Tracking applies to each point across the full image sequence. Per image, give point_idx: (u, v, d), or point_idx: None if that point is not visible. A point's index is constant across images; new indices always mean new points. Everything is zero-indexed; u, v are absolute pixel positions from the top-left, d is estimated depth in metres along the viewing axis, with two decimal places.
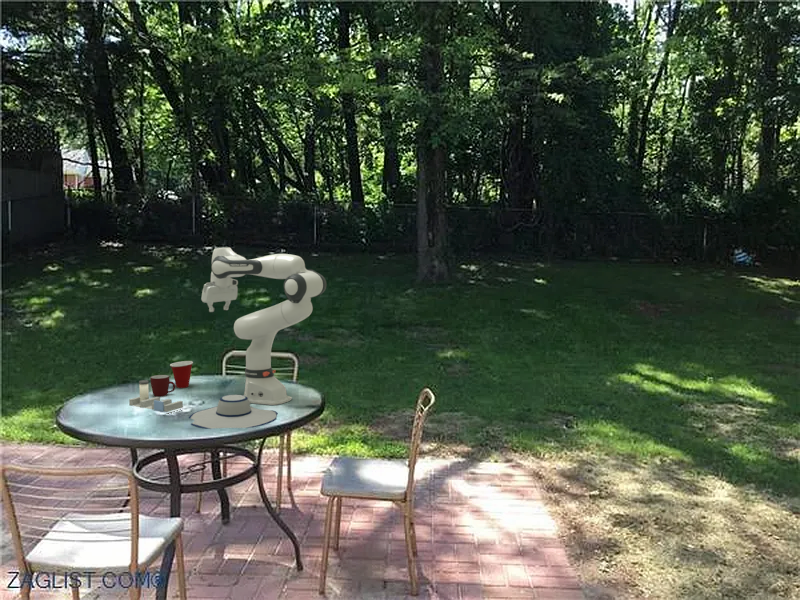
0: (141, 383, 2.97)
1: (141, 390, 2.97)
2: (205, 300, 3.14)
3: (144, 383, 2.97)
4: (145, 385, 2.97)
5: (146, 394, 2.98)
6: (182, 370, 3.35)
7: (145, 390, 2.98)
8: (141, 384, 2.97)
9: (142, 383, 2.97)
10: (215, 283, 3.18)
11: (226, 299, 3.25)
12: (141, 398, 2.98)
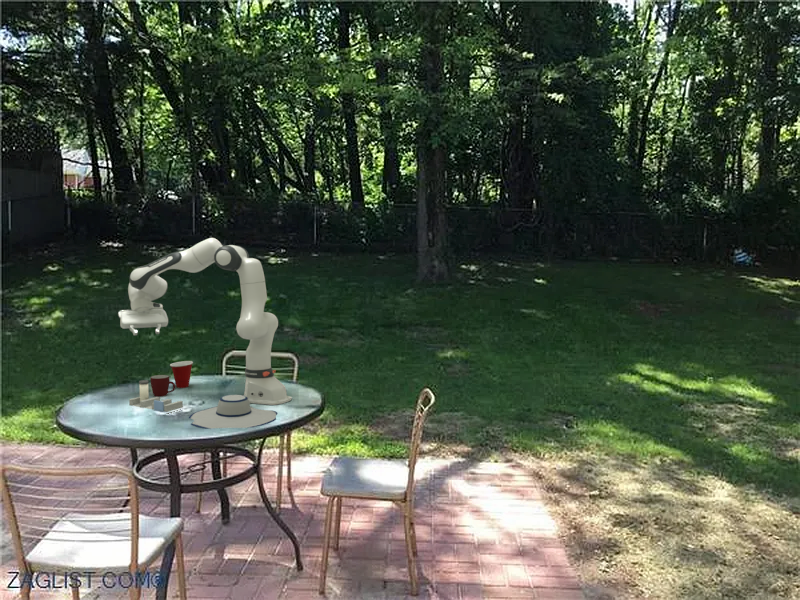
0: (141, 383, 2.97)
1: (141, 390, 2.97)
2: (121, 323, 3.05)
3: (144, 383, 2.97)
4: (145, 385, 2.97)
5: (146, 394, 2.98)
6: (182, 370, 3.35)
7: (145, 390, 2.98)
8: (141, 384, 2.97)
9: (142, 383, 2.97)
10: (132, 309, 3.12)
11: (151, 321, 3.11)
12: (141, 398, 2.98)
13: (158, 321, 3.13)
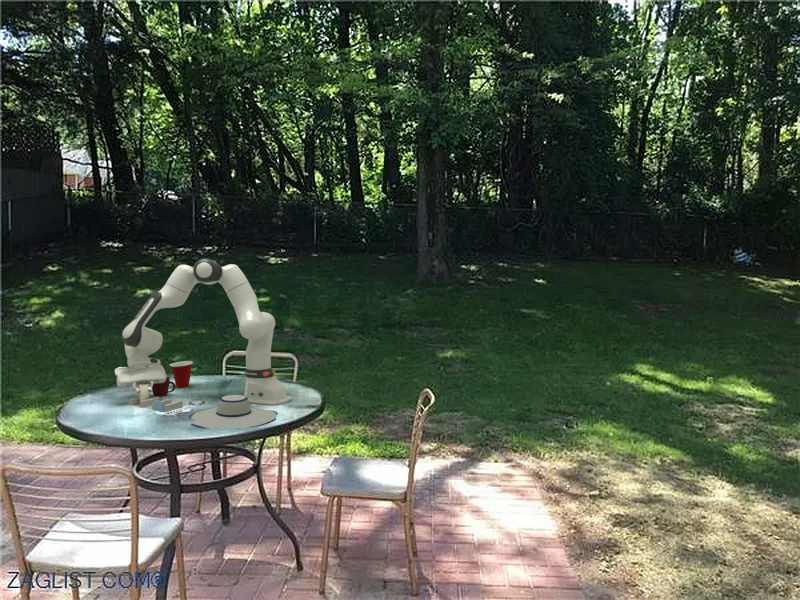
0: (141, 383, 2.97)
1: (141, 390, 2.97)
2: (117, 382, 2.96)
3: (144, 383, 2.97)
4: (145, 385, 2.97)
5: (146, 394, 2.98)
6: (182, 370, 3.35)
7: (145, 390, 2.98)
8: (141, 384, 2.97)
9: (142, 383, 2.97)
10: (129, 366, 3.03)
11: (149, 378, 3.02)
12: (141, 398, 2.98)
13: (156, 378, 3.03)
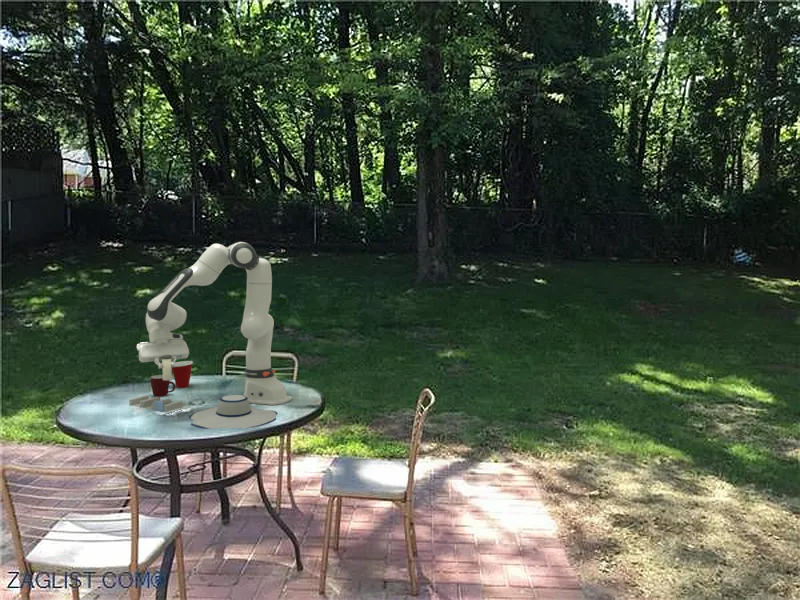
0: (164, 358, 2.89)
1: (164, 365, 2.89)
2: (140, 356, 2.88)
3: (167, 358, 2.89)
4: (168, 360, 2.90)
5: (169, 369, 2.90)
6: (182, 370, 3.35)
7: (168, 365, 2.90)
8: (164, 359, 2.89)
9: (165, 358, 2.89)
10: (151, 341, 2.95)
11: (172, 353, 2.94)
12: (164, 373, 2.90)
13: (178, 353, 2.95)
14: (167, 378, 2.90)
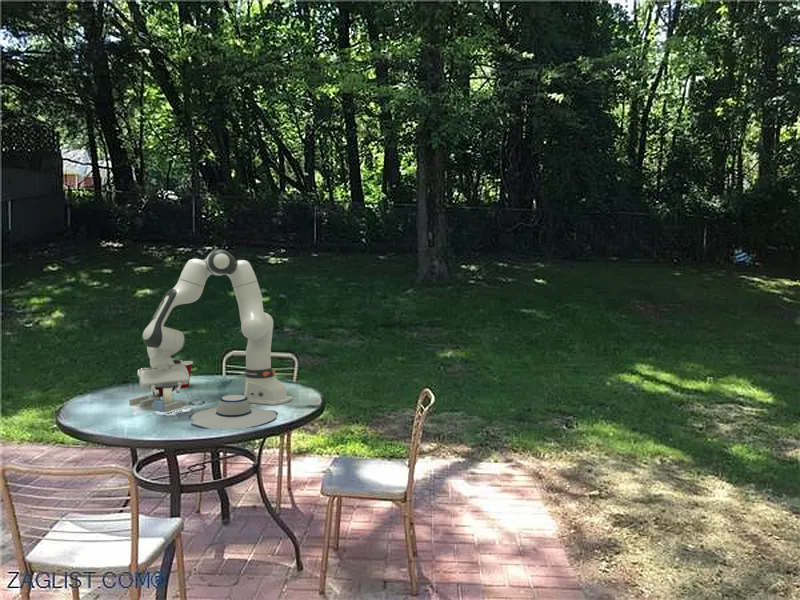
0: (165, 387, 2.90)
1: (165, 394, 2.91)
2: (140, 383, 2.89)
3: (168, 387, 2.90)
4: (169, 389, 2.91)
5: (170, 398, 2.91)
6: None
7: (169, 394, 2.91)
8: (165, 388, 2.90)
9: (166, 387, 2.90)
10: (152, 367, 2.96)
11: (172, 379, 2.95)
12: (165, 402, 2.91)
13: (179, 379, 2.96)
14: None
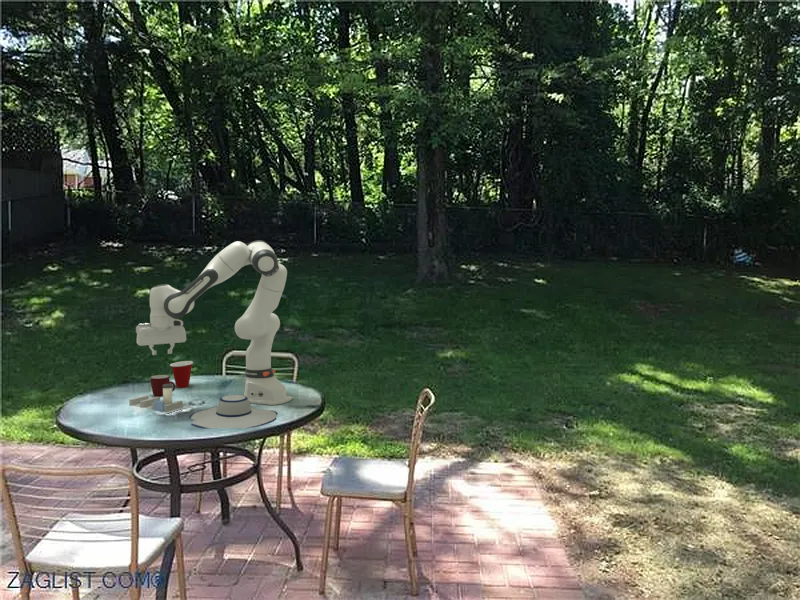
0: (165, 387, 2.90)
1: (165, 394, 2.90)
2: (137, 343, 2.92)
3: (168, 387, 2.90)
4: (169, 389, 2.91)
5: (170, 398, 2.91)
6: (182, 370, 3.35)
7: (169, 394, 2.91)
8: (165, 388, 2.90)
9: (166, 387, 2.90)
10: (151, 324, 2.94)
11: (169, 341, 2.98)
12: (165, 402, 2.91)
13: (176, 341, 3.00)
14: None
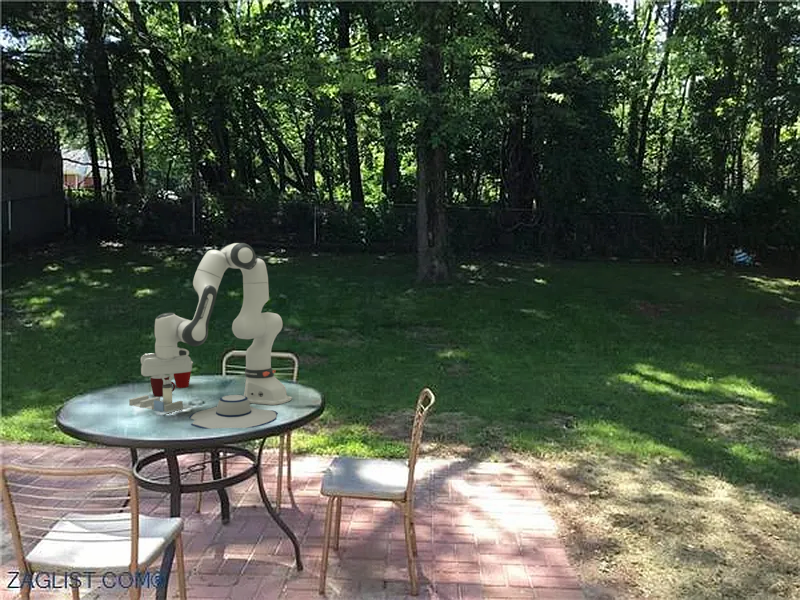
0: (165, 387, 2.90)
1: (165, 394, 2.90)
2: (142, 373, 2.85)
3: (168, 387, 2.90)
4: (169, 389, 2.91)
5: (170, 398, 2.91)
6: None
7: (169, 394, 2.91)
8: (165, 388, 2.90)
9: (166, 387, 2.90)
10: (156, 354, 2.87)
11: (174, 372, 2.91)
12: (165, 402, 2.91)
13: (181, 371, 2.93)
14: None
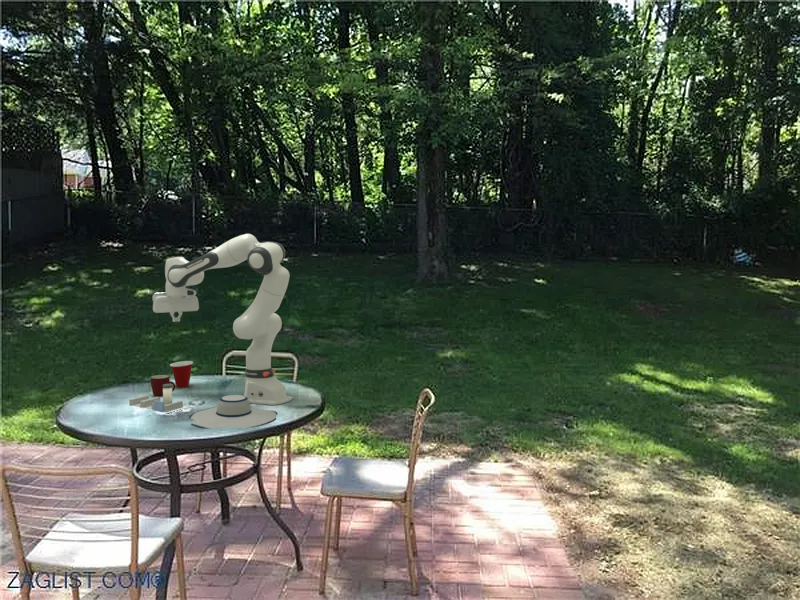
0: (165, 387, 2.90)
1: (165, 394, 2.90)
2: (154, 310, 3.14)
3: (168, 387, 2.90)
4: (169, 389, 2.91)
5: (170, 398, 2.91)
6: (182, 370, 3.35)
7: (169, 394, 2.91)
8: (165, 388, 2.90)
9: (166, 387, 2.90)
10: (166, 293, 3.17)
11: (183, 310, 3.20)
12: (165, 402, 2.91)
13: (189, 309, 3.22)
14: None
